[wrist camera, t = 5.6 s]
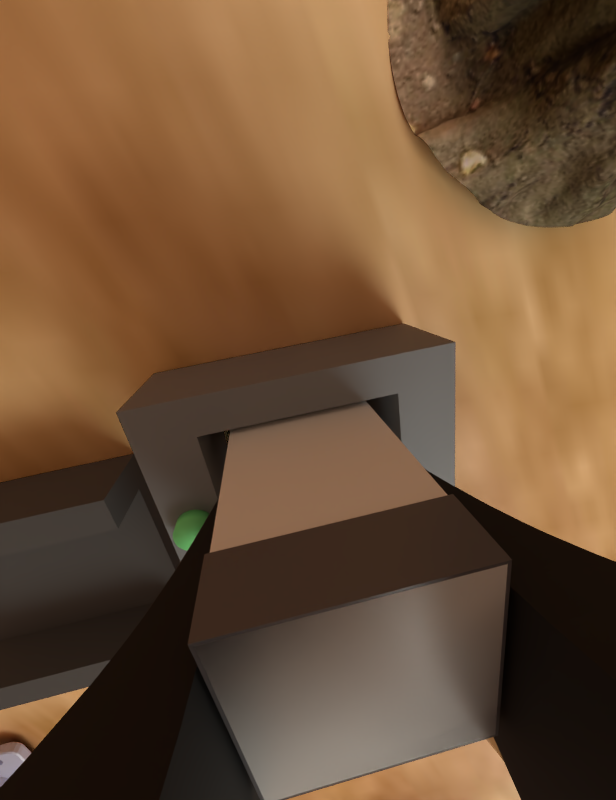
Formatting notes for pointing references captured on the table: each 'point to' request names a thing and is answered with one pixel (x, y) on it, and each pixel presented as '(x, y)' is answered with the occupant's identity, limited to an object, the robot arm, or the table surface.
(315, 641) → the plug
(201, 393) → the port panel
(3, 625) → the dark grey bracket
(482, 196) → the tree stump
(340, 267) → the table surface
